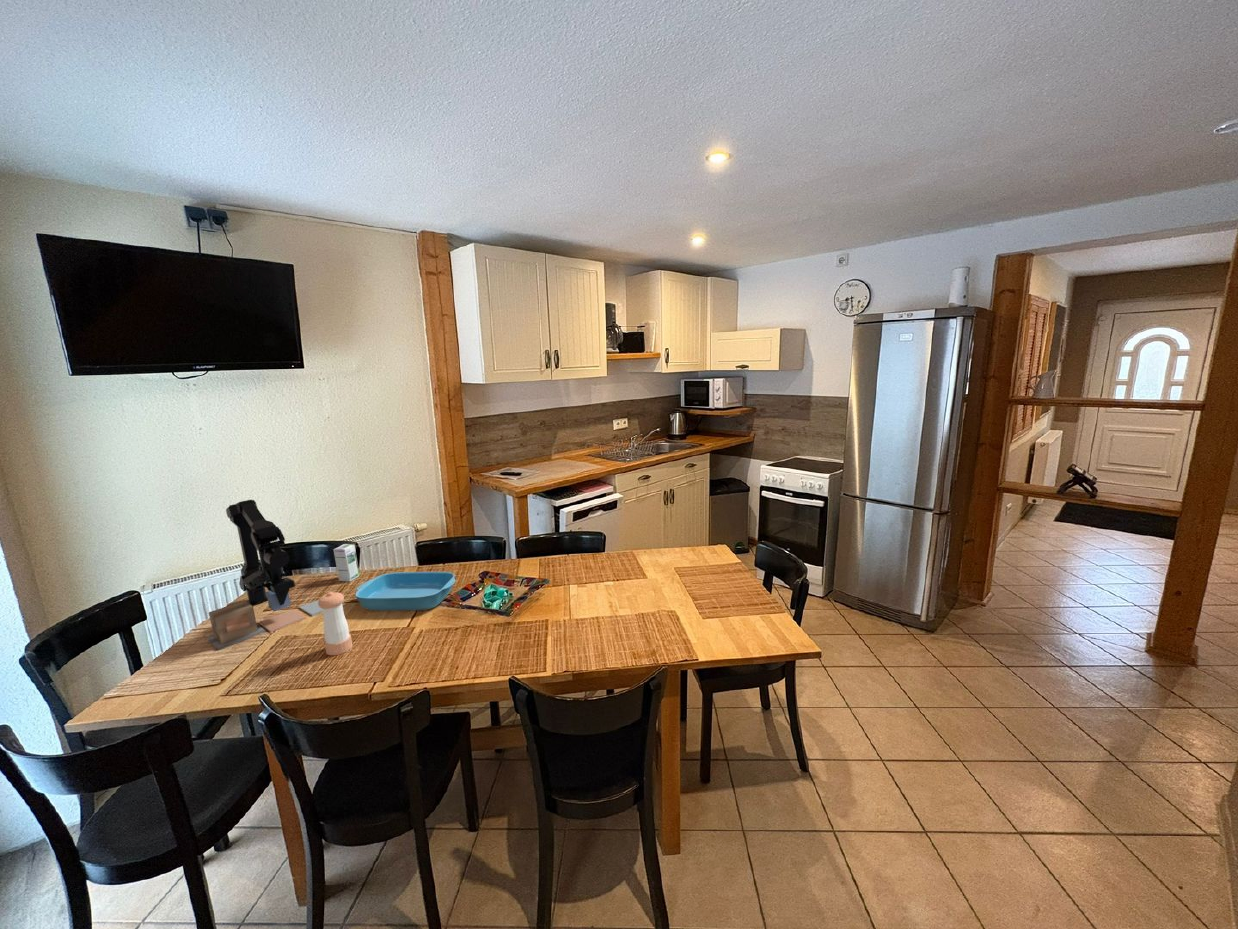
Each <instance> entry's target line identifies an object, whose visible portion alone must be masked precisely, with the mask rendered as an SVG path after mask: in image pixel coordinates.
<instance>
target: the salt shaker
mask: <svg viewBox="0 0 1238 929" xmlns="http://www.w3.org/2000/svg"><path fill="white" fill-rule="evenodd" d="M318 600H319V601H318V605H319V607H320V608H322V611H323V612H322V616H323V634H324V638H325V639H324V640H325V641H324V646H325V648H324V649H325V652H326V655H329V656H339V655H342V654H343V653H344V654H345V653H346V652H348V651H350V650H351V649H352V647H353V640H352V635H351V633H350V630H349V625H348V624H349V623H348V621H347V619H346V616H345V613H344V606H343V604H342V603H343V602H344V601H345V596H344V594H342V593H341V592H335V591H334V592H332V591H329V592H327V593H326V594H323V595H322V596H321V597H320V598H319V599H318Z"/></svg>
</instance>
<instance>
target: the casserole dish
mask: <svg viewBox="0 0 1238 929" xmlns="http://www.w3.org/2000/svg"><path fill="white" fill-rule="evenodd" d="M455 577H456V575H455V574H454V573H453V572H451V571H450V572H449V571H400V572H399V571H396V572H388V573H383V574H380V575H378V576H376V577H374V578H372V579H369V580H366V581H365V582H363V583H361V584H360V585H359V586H357V588H356V593H355V594H354V596H355V598H356V599H357V601H358V602H359V604H360V606H362V608H364V609H366V610H368V611H378V612H379V611H382V612H383V611H384V612H387V611H388V612H389V611H391V612H392V611H393V612H395V611H397V612H398V611H399V612H401V611H425V610H431V609H433V608H435V607H437V606H438V605H440V603H442V601H444V599H446V598H447V596H448V595H449V594H450V593H451V591H452V589H453V586H454V584H455V583H456V581H457V580H456V579H455Z"/></svg>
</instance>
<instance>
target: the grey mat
mask: <svg viewBox="0 0 1238 929" xmlns="http://www.w3.org/2000/svg"><path fill="white" fill-rule="evenodd" d="M318 601H319V599H316V600H314V601H311V602H309V603H305V604H304V605H300V606H299V609H300V610H302V611H303V612H305V613H306V614H308V615H310V616H312V617H313V616H316V615H319V614H323V611H322V608H320V607H319V605H318ZM342 605H344V601H343V603H342Z"/></svg>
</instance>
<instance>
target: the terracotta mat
mask: <svg viewBox="0 0 1238 929" xmlns="http://www.w3.org/2000/svg"><path fill="white" fill-rule="evenodd" d="M306 619H307V616H305V615H303V614H302V613H300V612H299V611H297V610H296V609H290V610H287V611H284V612H283V613H282V612H281V613H279V614H277V615H274V616H271V617H268V618H265V619H262V620H260V621H258V625H259V626H260V625H261V626H262V628H263V629H265V630H267V631H268V632H270V633H274V632H276V631H278V630H280V629H283V628H286V627H288V626H291V625H293V624H296V623H299V622H301V621H303V620H304V621H305V620H306Z"/></svg>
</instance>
